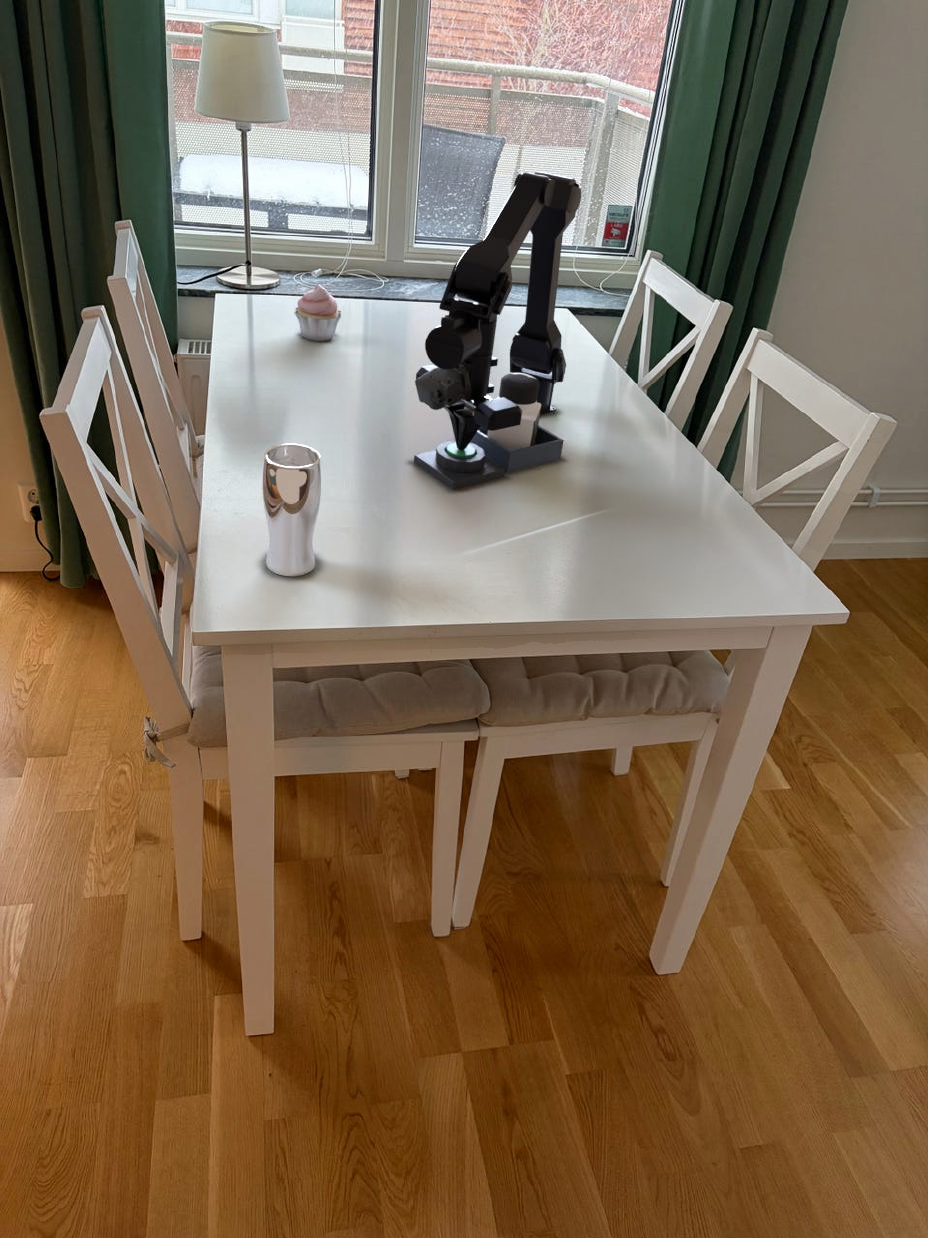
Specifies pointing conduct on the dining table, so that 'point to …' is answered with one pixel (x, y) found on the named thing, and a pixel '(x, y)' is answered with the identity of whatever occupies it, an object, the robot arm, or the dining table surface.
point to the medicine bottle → (524, 395)
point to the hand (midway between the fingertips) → (461, 448)
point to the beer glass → (291, 506)
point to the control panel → (458, 467)
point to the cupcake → (317, 314)
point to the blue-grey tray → (521, 450)
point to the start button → (460, 451)
